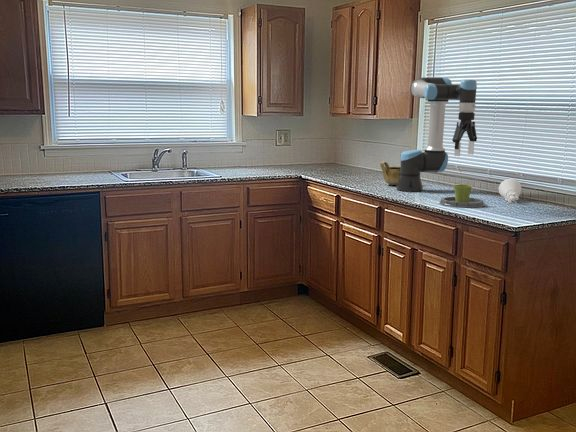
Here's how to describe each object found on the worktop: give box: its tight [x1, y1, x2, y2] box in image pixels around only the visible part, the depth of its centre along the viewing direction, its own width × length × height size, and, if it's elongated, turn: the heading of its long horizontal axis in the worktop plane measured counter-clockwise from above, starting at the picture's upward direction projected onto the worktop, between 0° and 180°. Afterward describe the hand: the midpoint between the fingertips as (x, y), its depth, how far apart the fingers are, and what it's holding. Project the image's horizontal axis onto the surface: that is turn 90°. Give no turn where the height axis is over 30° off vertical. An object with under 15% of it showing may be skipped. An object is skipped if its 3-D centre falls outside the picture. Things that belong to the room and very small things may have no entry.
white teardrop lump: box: [498, 178, 522, 205], centre depth 309 cm, size 12×12×18 cm
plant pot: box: [453, 184, 473, 203], centre depth 298 cm, size 9×9×9 cm
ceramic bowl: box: [379, 161, 400, 187], centre depth 368 cm, size 22×17×15 cm
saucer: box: [438, 196, 485, 209], centre depth 299 cm, size 22×22×2 cm
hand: (463, 155), depth 295 cm, fingers open, 13 cm apart
